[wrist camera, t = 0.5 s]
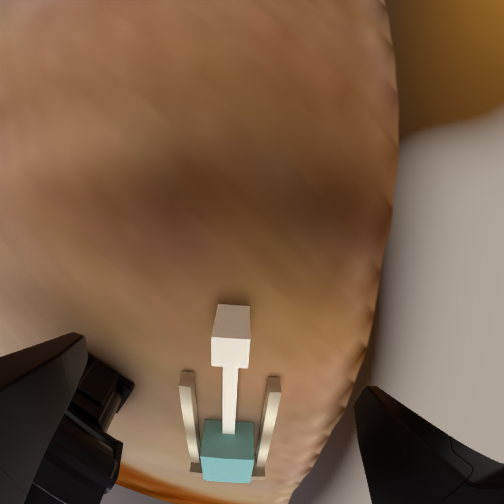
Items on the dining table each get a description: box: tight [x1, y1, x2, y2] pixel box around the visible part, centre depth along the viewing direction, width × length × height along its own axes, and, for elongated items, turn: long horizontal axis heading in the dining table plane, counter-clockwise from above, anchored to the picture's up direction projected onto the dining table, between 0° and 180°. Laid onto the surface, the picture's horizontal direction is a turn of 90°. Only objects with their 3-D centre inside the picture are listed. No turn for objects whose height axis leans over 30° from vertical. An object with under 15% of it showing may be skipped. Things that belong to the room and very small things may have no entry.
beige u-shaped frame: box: [179, 371, 281, 480], centre depth 23 cm, size 15×9×4 cm, turn 176°
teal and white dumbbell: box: [200, 304, 254, 483], centre depth 21 cm, size 20×5×5 cm, turn 176°
